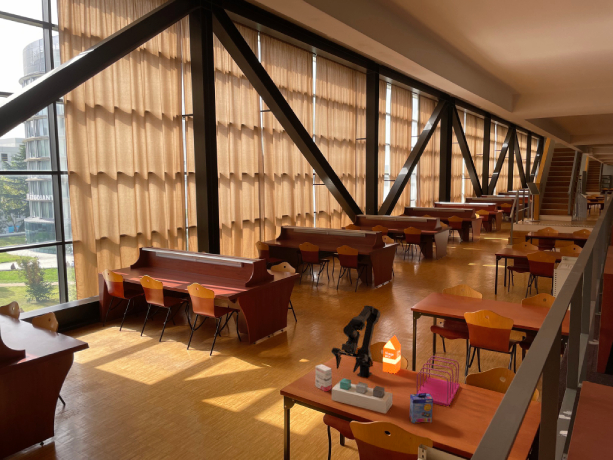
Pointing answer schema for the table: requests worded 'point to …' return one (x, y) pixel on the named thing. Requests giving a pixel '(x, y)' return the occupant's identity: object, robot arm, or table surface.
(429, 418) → the ink cartridge box
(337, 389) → the keypad
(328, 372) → the ink box
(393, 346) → the orange juice
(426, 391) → the file sorter
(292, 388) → the table surface
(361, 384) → the slate key
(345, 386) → the teal key
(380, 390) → the charcoal key
